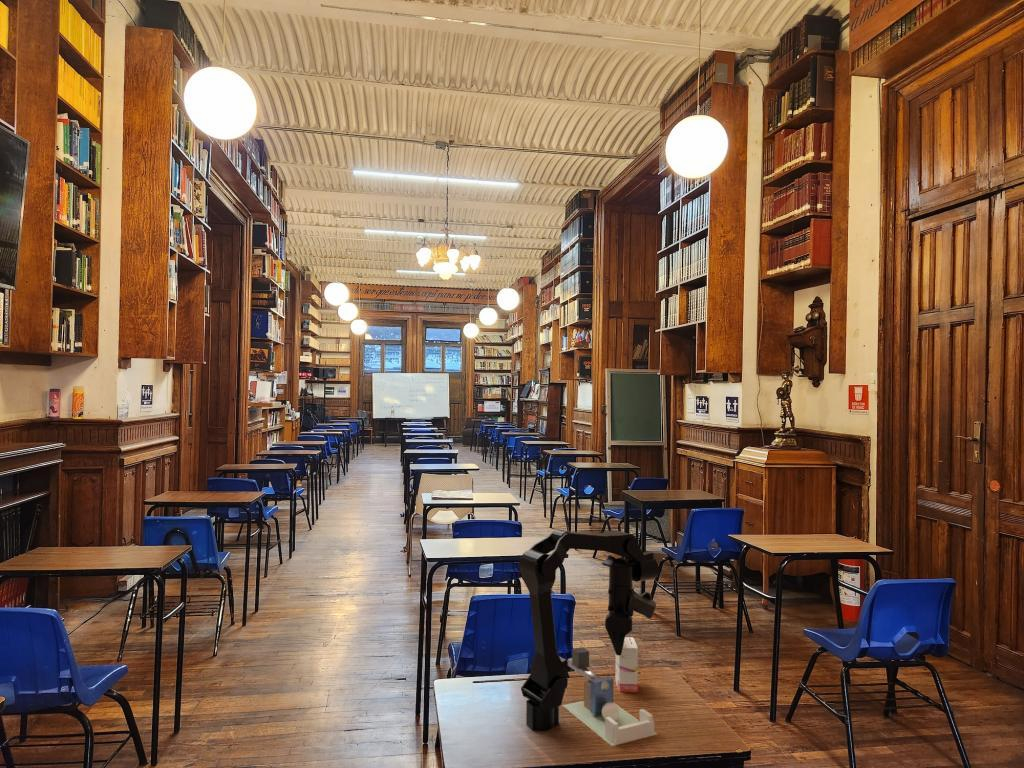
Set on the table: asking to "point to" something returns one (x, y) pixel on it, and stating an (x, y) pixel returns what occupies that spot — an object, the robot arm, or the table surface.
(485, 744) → the table surface
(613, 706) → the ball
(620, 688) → the ink cartridge box
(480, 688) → the table surface
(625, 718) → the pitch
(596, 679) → the player rod
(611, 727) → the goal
